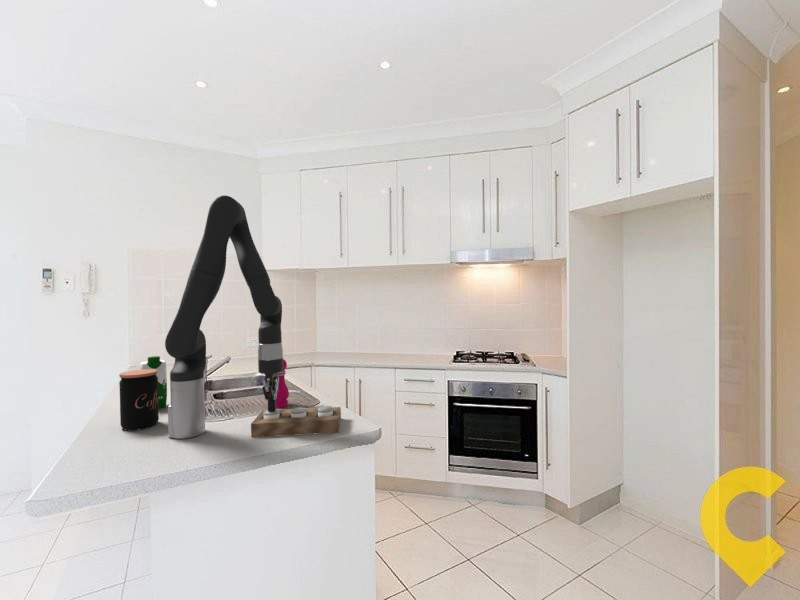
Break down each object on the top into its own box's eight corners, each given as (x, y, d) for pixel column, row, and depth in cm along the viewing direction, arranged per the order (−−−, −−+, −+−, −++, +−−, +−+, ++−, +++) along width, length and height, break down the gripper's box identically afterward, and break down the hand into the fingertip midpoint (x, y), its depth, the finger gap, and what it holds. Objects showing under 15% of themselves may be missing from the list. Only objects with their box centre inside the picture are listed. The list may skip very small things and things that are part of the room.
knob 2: (317, 426, 125) (316, 410, 125) (318, 421, 130) (318, 406, 130) (332, 425, 125) (332, 410, 125) (333, 421, 130) (333, 406, 130)
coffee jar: (136, 432, 125) (135, 375, 125) (112, 429, 128) (111, 374, 128) (166, 422, 135) (165, 369, 135) (143, 419, 138) (142, 368, 138)
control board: (251, 437, 119) (250, 423, 119) (262, 422, 133) (262, 410, 132) (338, 432, 121) (338, 419, 121) (340, 418, 135) (340, 406, 135)
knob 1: (262, 429, 123) (261, 413, 123) (265, 424, 128) (265, 409, 128) (278, 429, 124) (277, 413, 124) (281, 424, 129) (280, 408, 129)
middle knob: (289, 428, 124) (289, 412, 124) (292, 423, 129) (292, 407, 129) (305, 427, 125) (305, 411, 125) (307, 422, 130) (307, 407, 129)
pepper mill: (283, 409, 148) (282, 355, 148) (266, 408, 150) (264, 355, 150) (292, 403, 155) (291, 353, 155) (275, 403, 157) (274, 353, 157)
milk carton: (142, 412, 147) (141, 359, 147) (139, 407, 154) (137, 356, 154) (169, 407, 153) (167, 356, 153) (165, 403, 160) (163, 354, 160)
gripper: (263, 354, 132) (265, 406, 132) (252, 360, 119) (254, 418, 119) (286, 353, 133) (287, 405, 133) (278, 359, 120) (279, 416, 120)
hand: (272, 411), depth 126 cm, fingers closed
